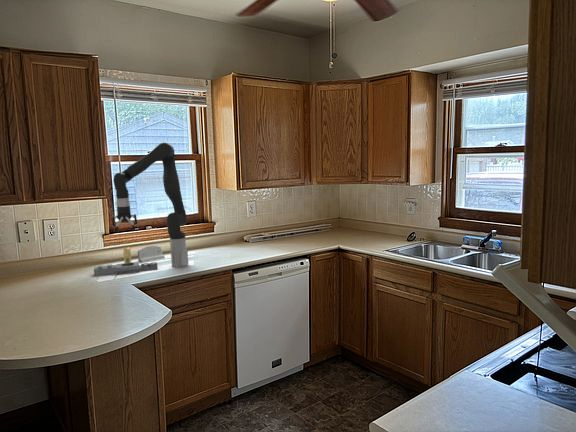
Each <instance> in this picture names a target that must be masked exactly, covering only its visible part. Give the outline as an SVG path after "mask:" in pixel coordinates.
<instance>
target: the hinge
mask: <svg viewBox="0 0 576 432" xmlns="http://www.w3.org/2000/svg"><path fill="white" fill-rule="evenodd" d="M137 258H138V259H137V260H138V261H139V262H141V263H148V262H151V261H157V260H162V259H165V258H166V257H165V255H164V253H163V251H162V248H161V246H158V245H149V246H145V247H143V248H140V249H138V251H137ZM138 261H137V262H138Z"/></svg>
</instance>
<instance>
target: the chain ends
mask: <svg viewBox="0 0 576 432" xmlns="http://www.w3.org/2000/svg"><path fill="white" fill-rule="evenodd" d="M153 270H154V271H155V270H156V271H157V270H158V262H157V261H156V262H149V263H148V262H143V263H141V264H140V261H139V262H138V261H131V262H130V263H123V262H122V263H116V264H111V263H110V264H107V265H98V266H94V267H93V276H94V277H100V276H109V275H116V276H117V275H125V274H134V273H135V274H136V273H141V272H146V271H153Z"/></svg>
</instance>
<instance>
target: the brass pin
mask: <svg viewBox="0 0 576 432" xmlns="http://www.w3.org/2000/svg"><path fill="white" fill-rule="evenodd" d="M122 249H123V260H124V261H123V262H124V263H130V262H132V253H131V247H129V246H128V247H123V248H122Z"/></svg>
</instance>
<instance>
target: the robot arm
mask: <svg viewBox="0 0 576 432" xmlns="http://www.w3.org/2000/svg"><path fill="white" fill-rule="evenodd" d="M174 148H175V147H174V146H173V145H171V144H170V143H168V142H160V143H159V144H158V145H156V147H154V148H153V149H152V150H151V151H150V152H149V153H148V154H145V155H144V156H143V157H142V158H140V159H139V160H137V161H135V162H133V163H132V164H131V165H129V166H128V167H127V168H126V169H124V170H123V171H121V172H116V173H115V174H114V175H113V185H114V188H115V192H116V193H115V195H116V196H115V197H116V213H117V215H112V216H111V226H113V227H115V232H116V233H119V232H120V230H119V225H120V224H121V223H130V224H131V231H132V232H134V231H135V225H137V224H138V219H137V214H136V213H134V214H131V213H132V211H131V201H130V196H129V195H130V194H129V189H128V188H127V183H128V182H130V181H131V180H133V179H134V178H135V177H136V176H139V175H141V174H142V173H143V172H145V171H146V170H147V169H148V168H149V167H151V166H152V165H153V164H154V163H156V162H158V161H160V160H161V162H162V165H163V174H162V175H163V176H162V181H163V189H164V192H165V194H166V196H167V198H169V200H170V201H171V205H172V207H173V212H170V213H168V215H167V217H166V227H167V233H168V235H169V245H170V260H171V267H172V268H183V267H186V266H189V254H188V252H189V250H188V249H187V242H186V233H185V232H184V231H182V230H181V227H183V226H185V225H186V224H187V221H188V219H187V218H188V217H187V213H186V209H185V205H184V203H183V202H184V201H183V197H182V193H181V192H182V191H181V186H180V179H179V175H178V171H177V165H176V159H175V158H176V157H175V149H174ZM132 218H133V219H134V221H133V220H132ZM116 219H118V221H117V222H116V223H115V220H116ZM119 234H120V233H119Z"/></svg>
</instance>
